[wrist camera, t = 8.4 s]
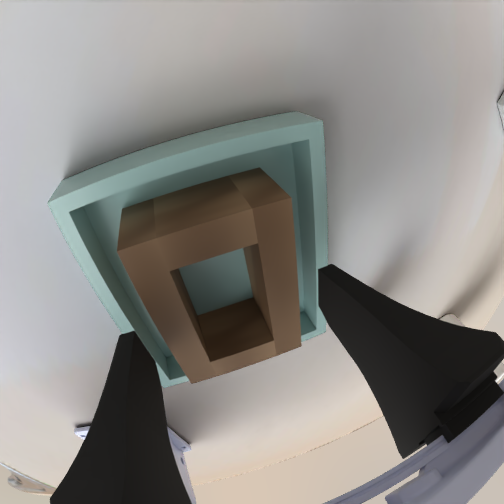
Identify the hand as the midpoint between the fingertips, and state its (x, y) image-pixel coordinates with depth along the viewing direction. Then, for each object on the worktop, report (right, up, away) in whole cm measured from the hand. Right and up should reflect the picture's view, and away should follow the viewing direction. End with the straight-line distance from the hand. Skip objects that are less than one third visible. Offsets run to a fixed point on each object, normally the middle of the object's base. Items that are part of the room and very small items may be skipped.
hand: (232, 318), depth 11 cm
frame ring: (-1, +2, +3) cm, 3 cm away
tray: (-1, +2, +3) cm, 4 cm away
